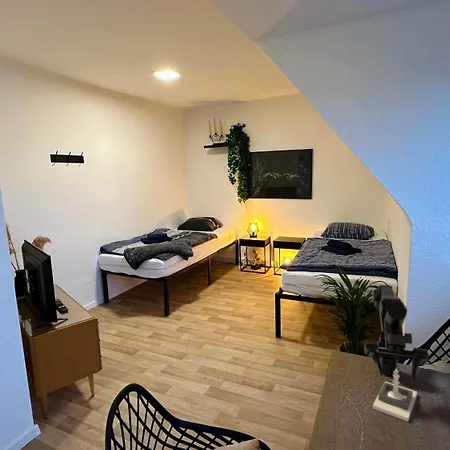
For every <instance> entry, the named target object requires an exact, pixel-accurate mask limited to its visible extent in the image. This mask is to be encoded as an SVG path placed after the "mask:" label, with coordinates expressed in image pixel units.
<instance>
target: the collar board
mask: <svg viewBox="0 0 450 450" xmlns="http://www.w3.org/2000/svg"><path fill="white" fill-rule="evenodd" d="M381 386H382V387H381V388H380V390H379V392H378V394H377V397H376V398H375V400H374V402H373V404H372V409H373V410H376V411H378V412H381V413H383V414H387V415H389V416H392V417H394V418H397V419H399V420H402V421H405V422H409V420H410V417H411V414H412V411H413V408H414V405H415V403H416V399H417V396H418V391H417V390H416V391H415V390H413V389H410V388H407V387H404V386H400V385H398V393H400V394H401V395H402V396H403V397H404V401H400V400H398V399H395V398H392V397H389V396H387V394H388V392H391V391H393V388H394V383H393V382H392V383H391V382H388V381H384V383H383V384H382V385H381Z"/></svg>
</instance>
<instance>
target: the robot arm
mask: <svg viewBox="0 0 450 450" xmlns="http://www.w3.org/2000/svg"><path fill="white" fill-rule="evenodd" d="M395 294H396V293H395V291H394V290H393V286H392V285H389V284H380V285H378V286H377V288H375V289H374V290H373V291H372V303H374V307H375V308H376V309H377V310H378V312H379V319H380V326H381V327H380V328H381V331H380V333H379V334H380V335H379V338H378V339H379V340H377V342H374V341H373V342H372V341H366V342H365V343H364V354H365V355H367V356H368V357H369V358H371V359H372V360H373V362H374V364H375V367H376V369H377V372H378V374H379V376H380V377H383V374H384V375H388V376H390V377H393V374H394V371H395V369H397V370H398V371H399V372H400V368H399V367H398V360H400V361H403V359H404V357H408V358H410V357H411V359H412V360H411V381H412V382H415V379H416V375H417V371H418V367H419V366H420V365H423V364H425V363H427V361H428V360H429V357H430V355H429V351H428V350H427V349H425V348H420V347H413V348H412V350H407V349H406V346H407V345H406V344H408V345H409V344H410V345H412V344H413V334H412V333H408V332H405V333H404V329H403V324H404V322H405V320H406V318H407V313H408V309H407V307H406V305H405V304H404V302H403V301H402V299H401V298H400V297H398V296H396V295H395ZM399 372H398V373H397V374H399Z"/></svg>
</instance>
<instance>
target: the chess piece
mask: <svg viewBox="0 0 450 450" xmlns="http://www.w3.org/2000/svg"><path fill="white" fill-rule="evenodd" d="M397 373H398V374H397ZM399 373H400V370H399V371H398V370H397V369H395V371H394V374H393V376H392V377H393V379H392V380H391V381H392V384H394V388H393V391H391V392H388V394H387V396H389V397H392V398H395V399H398V400H400V401H404V397H403V396H402V395H401V394H400V393H398V386H399V384H401V382H400V380H399V379H400V377H401V376H400V374H399Z"/></svg>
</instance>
